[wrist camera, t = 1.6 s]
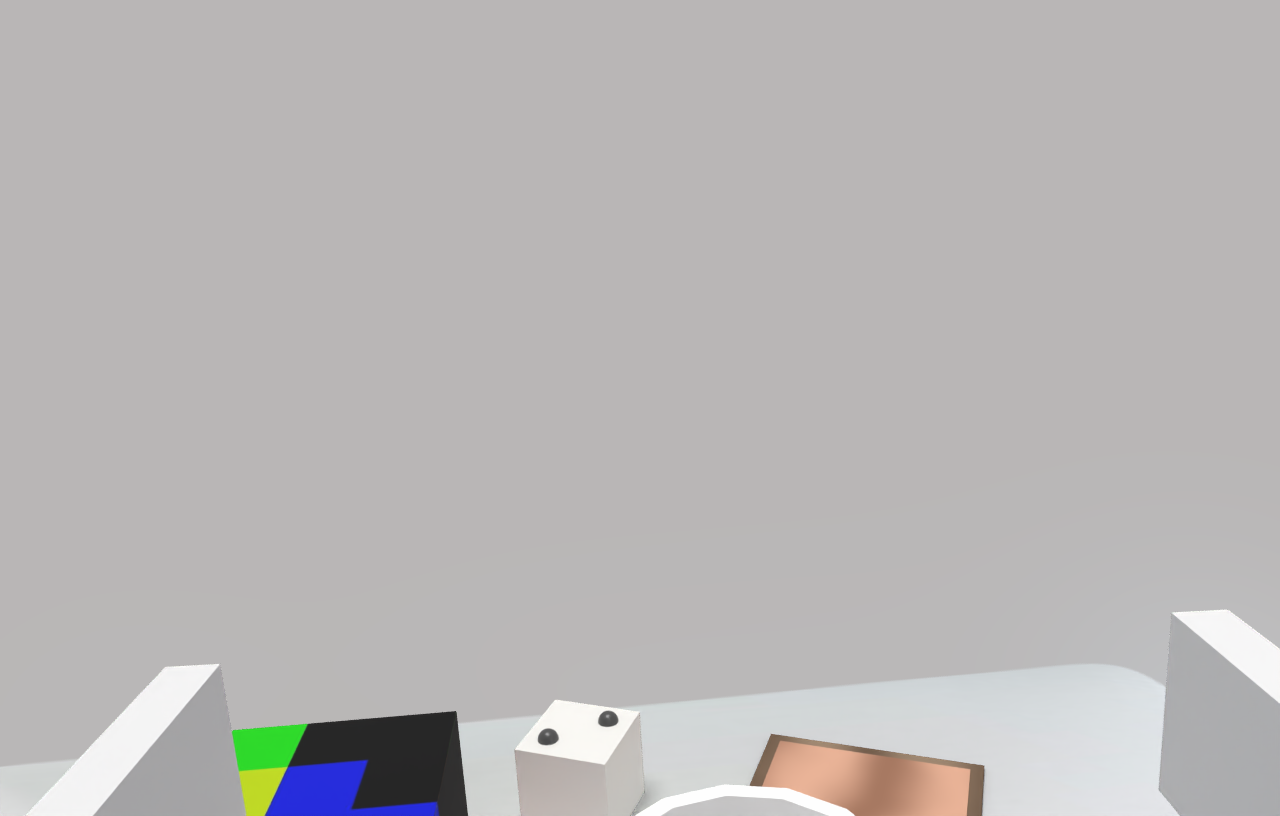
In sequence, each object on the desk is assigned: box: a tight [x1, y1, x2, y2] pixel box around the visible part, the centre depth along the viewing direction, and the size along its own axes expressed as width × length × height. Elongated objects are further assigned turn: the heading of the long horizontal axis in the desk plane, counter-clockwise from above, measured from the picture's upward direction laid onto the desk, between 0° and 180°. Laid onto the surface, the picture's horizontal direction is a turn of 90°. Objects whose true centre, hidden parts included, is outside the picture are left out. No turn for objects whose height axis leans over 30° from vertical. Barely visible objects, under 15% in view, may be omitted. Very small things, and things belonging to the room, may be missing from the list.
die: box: [514, 700, 645, 816], centre depth 53 cm, size 5×5×6 cm
